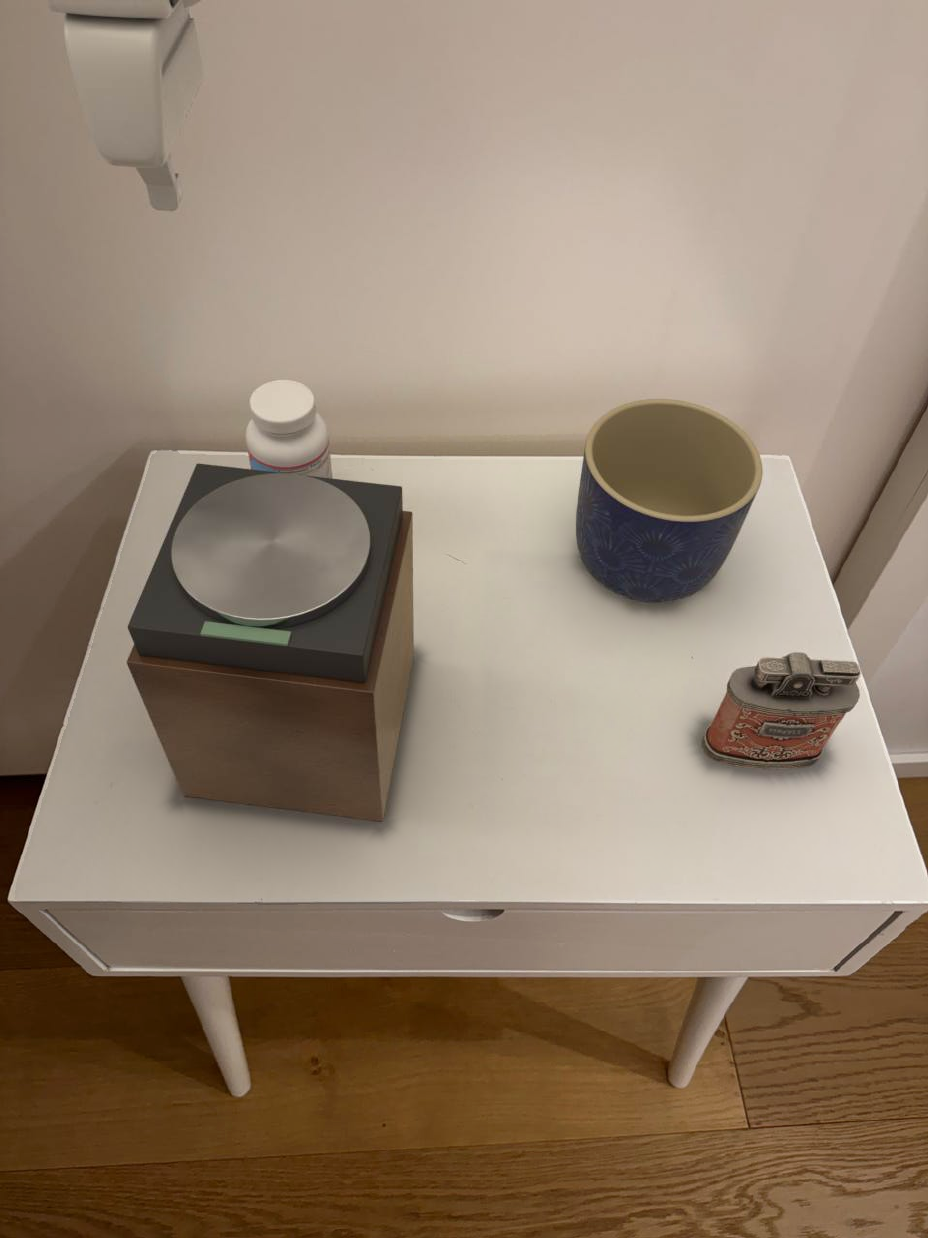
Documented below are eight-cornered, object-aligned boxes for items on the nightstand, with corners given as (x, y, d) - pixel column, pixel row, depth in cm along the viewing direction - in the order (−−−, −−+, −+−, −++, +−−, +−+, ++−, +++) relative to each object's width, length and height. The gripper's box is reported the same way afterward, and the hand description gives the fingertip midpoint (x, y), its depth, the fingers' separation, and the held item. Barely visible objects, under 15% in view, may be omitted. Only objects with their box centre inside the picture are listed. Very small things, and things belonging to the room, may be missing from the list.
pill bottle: (253, 490, 78) (231, 379, 69) (326, 476, 79) (314, 366, 70) (266, 543, 75) (245, 434, 66) (343, 528, 76) (333, 419, 67)
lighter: (704, 766, 64) (745, 684, 56) (698, 723, 66) (736, 637, 58) (824, 772, 64) (881, 690, 56) (814, 728, 66) (868, 643, 58)
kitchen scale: (138, 655, 50) (122, 617, 47) (204, 493, 57) (193, 452, 54) (365, 683, 49) (362, 646, 46) (403, 516, 56) (402, 475, 54)
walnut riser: (182, 796, 61) (125, 662, 49) (236, 635, 69) (198, 486, 57) (382, 822, 61) (373, 693, 49) (413, 656, 69) (412, 511, 57)
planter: (736, 526, 78) (775, 422, 69) (706, 640, 70) (747, 541, 62) (589, 485, 80) (610, 380, 71) (546, 592, 73) (563, 490, 64)
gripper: (127, -128, 61) (169, 101, 71) (27, -13, 48) (97, 245, 58) (226, -122, 61) (253, 106, 71) (154, -5, 48) (200, 251, 59)
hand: (182, 170), depth 65 cm, fingers open, 8 cm apart
